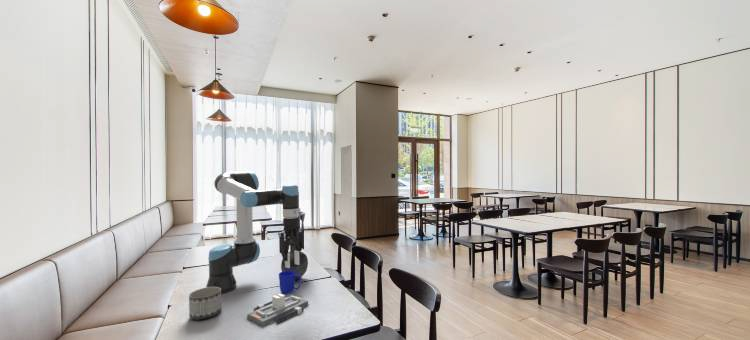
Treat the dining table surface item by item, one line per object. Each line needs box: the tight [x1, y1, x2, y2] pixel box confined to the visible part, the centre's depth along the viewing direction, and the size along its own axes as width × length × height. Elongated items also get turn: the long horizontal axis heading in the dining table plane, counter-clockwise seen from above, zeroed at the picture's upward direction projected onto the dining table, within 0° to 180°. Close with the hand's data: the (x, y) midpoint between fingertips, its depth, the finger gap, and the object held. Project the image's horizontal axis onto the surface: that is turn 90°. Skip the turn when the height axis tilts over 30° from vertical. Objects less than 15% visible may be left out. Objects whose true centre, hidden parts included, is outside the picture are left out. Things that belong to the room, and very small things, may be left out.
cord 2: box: [275, 306, 304, 324], centre depth 132 cm, size 3×14×2 cm, turn 143°
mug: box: [278, 271, 302, 295], centre depth 160 cm, size 8×12×10 cm
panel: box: [246, 294, 309, 327], centre depth 138 cm, size 12×24×3 cm, turn 143°
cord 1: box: [253, 300, 272, 311], centre depth 143 cm, size 3×14×2 cm, turn 143°
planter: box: [188, 286, 223, 321], centre depth 136 cm, size 13×13×10 cm
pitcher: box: [280, 237, 309, 283], centre depth 176 cm, size 11×19×30 cm, turn 157°
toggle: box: [271, 292, 286, 309], centre depth 138 cm, size 4×4×5 cm
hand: (292, 265), depth 144 cm, fingers open, 5 cm apart
